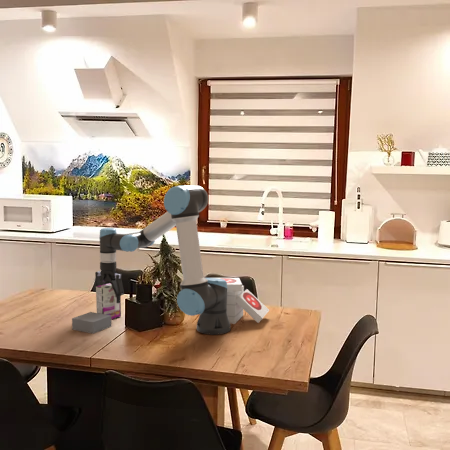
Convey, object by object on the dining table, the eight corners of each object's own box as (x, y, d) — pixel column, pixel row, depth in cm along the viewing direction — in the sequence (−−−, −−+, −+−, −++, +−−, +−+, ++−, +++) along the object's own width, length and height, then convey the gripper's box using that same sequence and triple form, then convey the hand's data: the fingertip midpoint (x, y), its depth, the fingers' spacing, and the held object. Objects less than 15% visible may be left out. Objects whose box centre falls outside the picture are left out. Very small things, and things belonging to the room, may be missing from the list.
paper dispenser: (261, 327, 240) (262, 288, 238) (199, 321, 249) (199, 283, 247) (270, 316, 258) (271, 280, 256) (211, 310, 267) (212, 275, 265)
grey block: (111, 326, 239) (111, 315, 238) (93, 333, 228) (93, 322, 228) (90, 322, 244) (90, 311, 244) (72, 329, 234) (72, 318, 233)
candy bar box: (114, 315, 257) (114, 281, 255) (121, 317, 254) (121, 283, 252) (95, 320, 248) (95, 285, 246) (102, 322, 245) (102, 287, 243)
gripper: (132, 262, 246) (132, 309, 249) (95, 257, 256) (95, 303, 259) (121, 264, 240) (122, 313, 242) (84, 260, 250) (85, 306, 252)
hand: (108, 308), depth 250 cm, fingers open, 9 cm apart
